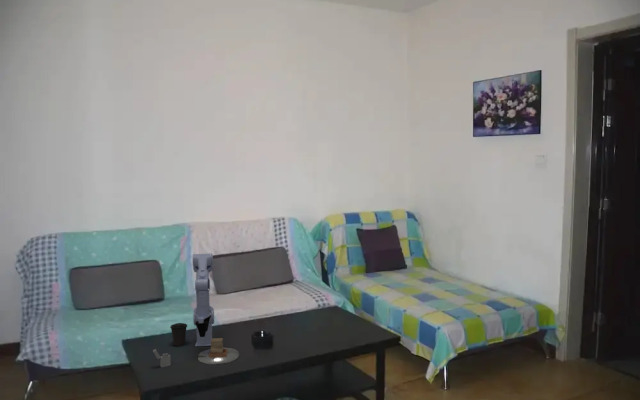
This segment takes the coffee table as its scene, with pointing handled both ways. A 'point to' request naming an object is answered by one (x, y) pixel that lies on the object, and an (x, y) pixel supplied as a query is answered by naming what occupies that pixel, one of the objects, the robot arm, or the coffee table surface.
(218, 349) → the wood grain block
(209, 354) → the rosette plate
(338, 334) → the coffee table surface
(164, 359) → the lighter
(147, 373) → the coffee table surface
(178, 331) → the coffee cup
